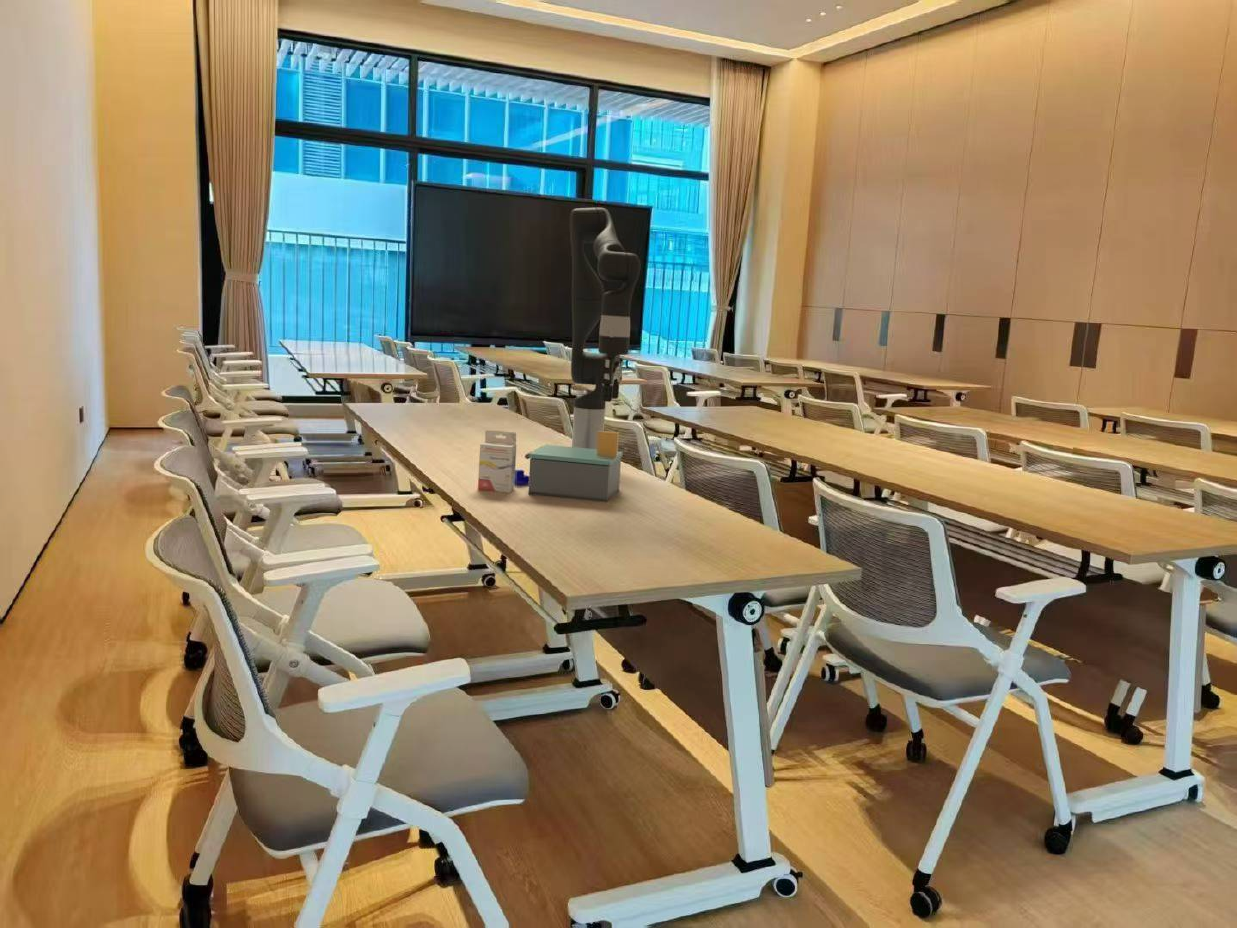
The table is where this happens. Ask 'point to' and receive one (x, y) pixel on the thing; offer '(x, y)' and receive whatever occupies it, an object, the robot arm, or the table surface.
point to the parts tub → (574, 479)
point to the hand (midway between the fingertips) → (610, 399)
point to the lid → (583, 451)
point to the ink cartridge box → (497, 462)
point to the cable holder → (521, 478)
